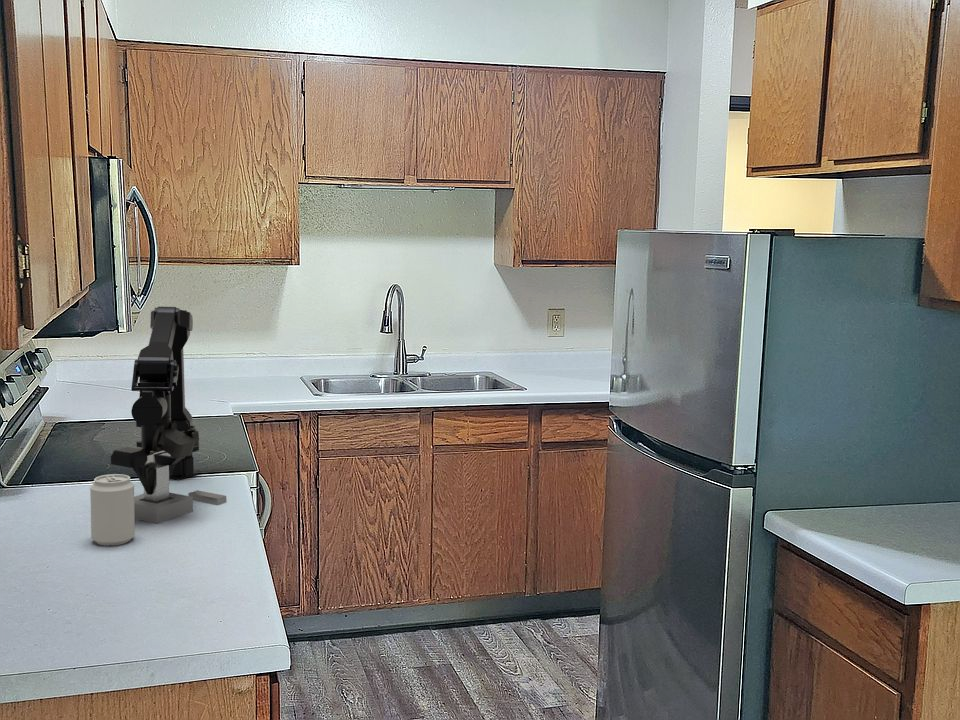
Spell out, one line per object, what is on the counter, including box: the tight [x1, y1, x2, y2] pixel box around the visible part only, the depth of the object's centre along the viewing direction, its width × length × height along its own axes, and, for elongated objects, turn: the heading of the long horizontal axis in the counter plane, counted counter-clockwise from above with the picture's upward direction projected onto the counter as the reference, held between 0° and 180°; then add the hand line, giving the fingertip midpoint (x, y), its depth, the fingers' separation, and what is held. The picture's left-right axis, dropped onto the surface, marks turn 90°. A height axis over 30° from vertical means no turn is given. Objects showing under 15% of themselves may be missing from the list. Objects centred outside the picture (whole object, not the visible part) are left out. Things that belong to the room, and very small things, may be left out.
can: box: [89, 473, 136, 547], centre depth 177 cm, size 8×8×12 cm
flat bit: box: [187, 490, 227, 506], centre depth 205 cm, size 8×3×2 cm, turn 64°
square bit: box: [143, 464, 170, 504], centre depth 194 cm, size 3×3×8 cm
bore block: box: [134, 492, 194, 524], centre depth 195 cm, size 10×10×3 cm
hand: (156, 492), depth 195 cm, fingers closed on square bit, 3 cm apart
